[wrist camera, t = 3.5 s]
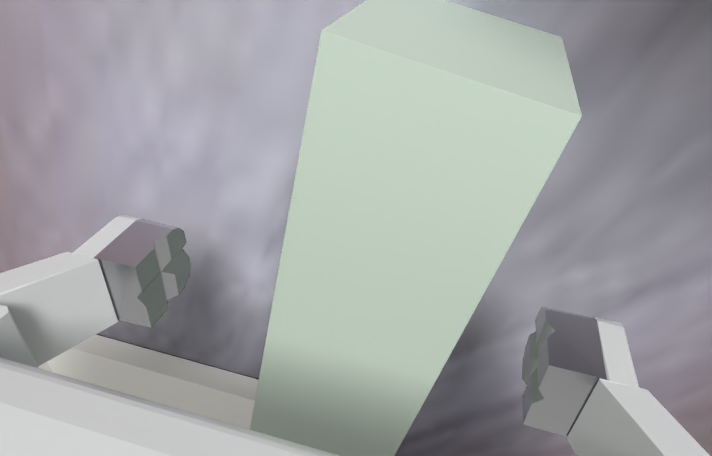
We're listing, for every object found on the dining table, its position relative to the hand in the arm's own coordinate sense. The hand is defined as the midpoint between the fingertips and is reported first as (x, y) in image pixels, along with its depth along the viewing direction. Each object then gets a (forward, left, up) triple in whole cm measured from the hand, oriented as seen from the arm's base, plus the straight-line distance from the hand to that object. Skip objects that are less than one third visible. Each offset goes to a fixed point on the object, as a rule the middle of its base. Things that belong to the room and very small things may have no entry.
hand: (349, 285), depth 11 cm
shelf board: (0, +1, -4) cm, 4 cm away
